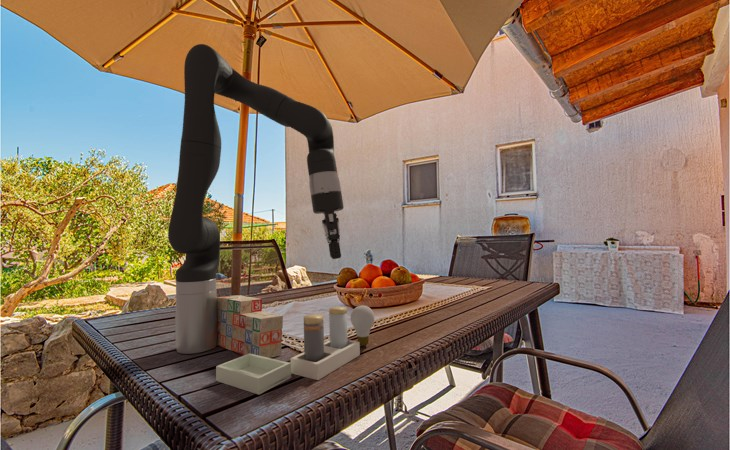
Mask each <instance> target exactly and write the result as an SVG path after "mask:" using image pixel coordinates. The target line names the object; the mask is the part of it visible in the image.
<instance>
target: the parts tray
mask: <svg viewBox="0 0 730 450" xmlns="http://www.w3.org/2000/svg"><path fill="white" fill-rule="evenodd" d="M215 369H216V370H215V375H216V376H215V379H216V382H219V383H221V384H225V385H227V386H231V387H234V388H238V389H240V390H244V391H247V392H249V393H253V394H256V395H261V394H264V393H265V392H267V391H268V390H270V389H272V388H274V387H276V386H278V385H279V384H282V383H283V382H286V381H287V380H289V379H291V378H292V373H291V362H288V361H284V360H279V359H274V358H267V357H263V356H259V355H254V354H250V353H249V354H246V355H242V356H239V357H237V358H234V359H232V360H229V361H226V362H224V363H221V364H218V365H216V367H215Z"/></svg>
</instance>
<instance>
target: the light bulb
mask: <svg viewBox="0 0 730 450" xmlns="http://www.w3.org/2000/svg"><path fill="white" fill-rule="evenodd" d="M350 322H351V325H352V326H353V328H354V330H355V333H356V336H357V342H360V347H362V348H365V347H366V346H367V345H368V344H369V340H370V338H369V335H370V333H371V329H372V327H373V324H374V322H375V312H374V311H373V310H372V308H370V307H369V306H367V305H358V306H356V307H355V308H354V309H353V310H352V311H351V314H350Z"/></svg>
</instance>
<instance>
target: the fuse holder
mask: <svg viewBox="0 0 730 450" xmlns="http://www.w3.org/2000/svg"><path fill="white" fill-rule="evenodd" d="M360 348H361V346H360V342H358V340H357V341H356V340H351V339H350V340H349V339H348V346H347V347H345V348H343V349H338V348H333V347H330V339H329V340H327V341H324V359H322V360H320V361H318V362H312V361H307V360H305V355H304V351H303V352H301V353H299V354H297V355H295V356H292V357H291V358H290V363H291V375H296V376H301V377H304V378H308V379H311V380H316V381H319V380H321V379H323V378H324V377H326V376H328V375H330V374H331V373H333V372H334V371H336V370H337V369H339V368H341V367H342V366H344V365H346V364H348V363H349V362H351V361H352V360H354V359H356V358H358V357H359V356H360V355H361V350H360Z"/></svg>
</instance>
